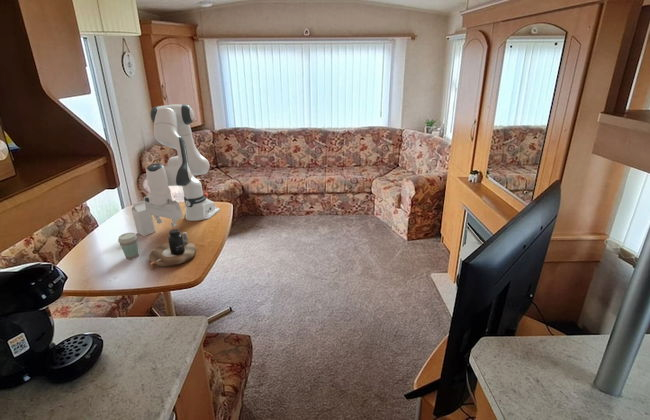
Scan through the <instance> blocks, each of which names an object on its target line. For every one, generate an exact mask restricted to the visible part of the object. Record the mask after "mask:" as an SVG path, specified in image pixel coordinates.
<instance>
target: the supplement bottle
mask: <svg viewBox="0 0 650 420" xmlns="http://www.w3.org/2000/svg"><path fill="white" fill-rule="evenodd" d="M168 234H169V236H168V237H167V239H168V243H169V247H170V253H171V254H172V255H180V254H183V253H184V252H185V247H184V241H183V236H182V233H181V230H180V229H179V228H173V229H170V230H169V233H168Z"/></svg>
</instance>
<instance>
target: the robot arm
mask: <svg viewBox="0 0 650 420" xmlns="http://www.w3.org/2000/svg"><path fill="white" fill-rule="evenodd" d="M149 113H150V115H149V116H150V119H151V121H152V124H153V137H154V138H155V139H154V140H156V142H158V143H159V144H160V145H163V146H164V147H168V148H171V149H174V150H175V151H176V153H177V155H175V156H171V157H169V159H168V161H167V165H166V166H165V165H164V164H162V163H160V162H159V163H158V162H155V163H151V164H149V165H147V167H146V169H145V172H146V173H145V176H146V181H147V186H148V188H149V194H148V195H146V196H144V197H142V199H143V201H145V208H146V211H147V213H148V214H150V215H152V216H153V217H154V219H155V220H156V223H157V224H159V225H160V224H162V223H163V219H162V218H165V219H171V221H172V223H171V227H173V228H176V227H177V225H178V224H177V221H178V220H180V219H182V218H183V216H184V214H183V210H182V207H181V205H180V203H178V201H177V200H174V199H172V192H171V189H170V187H172V186H173V187H175V186H176V187H177V186H179V187H182V191H183V201H184V203H185V204H184V205H185V206H184V207H185V220H186V221H191V222H193V221H195V222H197V221H202V220H209V219H210V218H212V217H213V216H215V214H217V213H218V212H219V211H220V208H219V207H218V206H216V204H215V202H214V200H210V199H209V198H207V197H209V193H208V192H207V193H206V192H203V191H204V190H203V186H202V182H201V180H199V179H197V178H196V177H195V176H201V175H206V174H208V172H209V171H210V166H211V165H210V162H209V160H208V159H207V158H205V156H203V155H202V154H201V153H200V152H199V150H198V148H197V147H196V145H195V141H194V137H193V133H192V128H191V124H192V123H193V122H194V120H195V112H194V109H193V107H192V106H190V105H189V104H186V103H185V104H184V103H182V104H177V103H176V104H175V103H174V104H165V105H156V106H154V107H152V108H151V109H150V112H149Z"/></svg>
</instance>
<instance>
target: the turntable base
mask: <svg viewBox="0 0 650 420" xmlns="http://www.w3.org/2000/svg"><path fill="white" fill-rule="evenodd" d="M185 262H187V261H185ZM185 262H183V263H180V264H177V265H172V266H171V267H174V266H178V265H181V264H184V263H185ZM149 266H150V269H151V271H155V270H156V269H158V268H157V265H156V263H155V262H152V263H151V262H150V264H149Z"/></svg>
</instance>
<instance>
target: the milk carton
mask: <svg viewBox="0 0 650 420" xmlns="http://www.w3.org/2000/svg"><path fill="white" fill-rule="evenodd" d="M131 212H132V216H133V220H134V226H135V229H136V232H137V234H139V235H141V236H143V237H145V236H147V235H150V234H153V233H155V232H156V229H155V224H154V220H153V215H150V214H148V213H147V211H146V208H145V201H144V200H142V201H139V202H136V203H135V202H134V203H133V204H132V208H131Z"/></svg>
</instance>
